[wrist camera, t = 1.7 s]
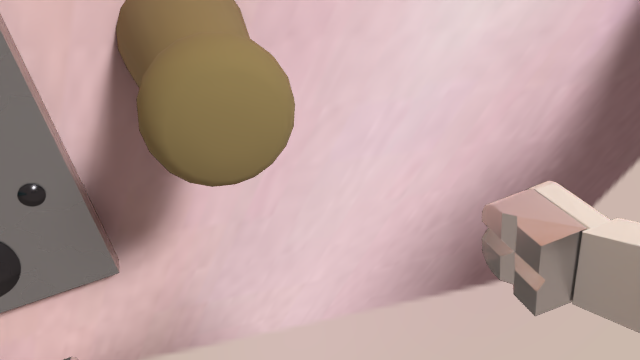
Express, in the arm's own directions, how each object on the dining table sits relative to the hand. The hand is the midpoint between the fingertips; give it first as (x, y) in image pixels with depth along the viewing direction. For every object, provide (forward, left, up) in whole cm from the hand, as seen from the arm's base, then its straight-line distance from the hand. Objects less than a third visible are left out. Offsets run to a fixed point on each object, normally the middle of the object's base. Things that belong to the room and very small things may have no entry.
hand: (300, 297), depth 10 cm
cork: (0, 0, -19) cm, 19 cm away
